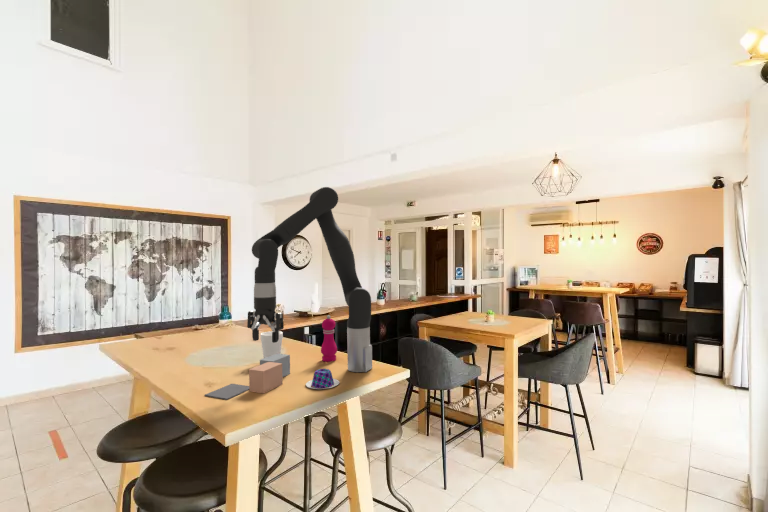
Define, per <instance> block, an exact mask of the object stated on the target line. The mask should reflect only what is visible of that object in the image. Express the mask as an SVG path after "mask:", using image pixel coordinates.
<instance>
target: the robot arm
mask: <svg viewBox="0 0 768 512" xmlns="http://www.w3.org/2000/svg"><path fill="white" fill-rule="evenodd" d="M338 202H339V195H338V192H337V191H336V190H335V189H334V188H333V187H330V186H324V187H321V188H319V189H317V190H315V191H314V192H312V193H311V195H310V196H309V202H308V203H307V204H306V205H304V206H303V207H302V208H300V209H299V210H297V211H296V212H294V213H293V214H292V215H290V216H288V217H287V218H286V219H284V220H283V221H282V222H281V223H279V224H278V225H277V226H276V227H275V228H274V229H272V230H270V231H269V232H267V233H266V234H264V235H262V236H261V237H260V238H258V239H257V240H256V241H255V242H254V243H253V245H252V246H251V253H252V255H253V256H254V258H257V259H258V264H257V266H256V267H255V269H254V287H253V309H254V310H250V311H248V312H247V323H246V325H247V328H248V329H251V332H252V335H251V336H252V341H254V342H256V341H259V340H260V329H259V328H260V326H261V325H265V326H268V327H269V328H270V329H271V331H273V332H272V342H273V343H275V342H277V341H278V340H279V331H281V330H284V326H285V325H284V313H283V312H281V311H280V312H276V308H277V287H276V268H277V264H278V263H277V262H278V257H279V248H280V247H281V246H285V245H286V244H288V243H289V242H291V241H292V240H293V239H294V238H295V237H296V236H297V235H299V234H300V233H301V232H302V231H303V230H305V228H307V226H309V225H310V224H311V223H313V221H315V220H316V221H317V224H318V226H319V228H320V231H321V233H322V236H323V239H324V242H325V244H326V248H327V251H328V253H329V256H330V260H331V262H332V264H333V266H334V269H335V271H336V273H337V276H338V278H339V281H340V284H341V288H342V292H343V295H344V301H345V303H346V305H347V306H348V319H347V322H346V328H347V329H346V333H347V334H346V336H347V337H346V339H347V342H346V343H347V345H346V346H347V351H346V352H347V353H346V354H347V370H348V371H349V372H352V373H368V371H370V370H371V369H373V345H372V344H371V330H370V329H371V327H370V326H371V320H372V297H371V294H370V292H369V291H368V290H367V289H366V288H363V286H362V284H361V282H360V280H359V278H358V274H357V270H356V262H355V255H354V251H353V248H352V246H351V242H350V240H349V238H348V236H347V235H346V234H345V232H344V230H342V229H341V228H340V226H339V225H338V223H337V221H336V220H335V217H334V214H333V209H334V208H336V207H337V205H338Z"/></svg>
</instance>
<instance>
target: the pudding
mask: <svg viewBox="0 0 768 512" xmlns="http://www.w3.org/2000/svg"><path fill="white" fill-rule="evenodd" d="M339 384H340V380H338V379H336V378H333V375H332V372H331V369H328V368H319V369H316V370H315V371H314V373H313V377H312V379H311V380H308V381H306V383H305V386H306V387H307V388H309V389H314V390H320V389H321V390H326V389H331V388H334V387H336V386H338V385H339ZM311 386H312V387H311Z"/></svg>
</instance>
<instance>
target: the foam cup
mask: <svg viewBox="0 0 768 512" xmlns="http://www.w3.org/2000/svg"><path fill="white" fill-rule="evenodd" d="M272 332H273V331H272V330H271V331H265V332H264V331H263V332H261V333H259V340H260V342H261V348H262V349H261V350H262V355H263V359H264V358H266V357H269V356H272V355H274V354H282V353H281V352H282V344H283V338H284V335H283V333H284V332H283V331H281V330H279V340H278V341H277V342H275V343H273V342H272Z"/></svg>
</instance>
